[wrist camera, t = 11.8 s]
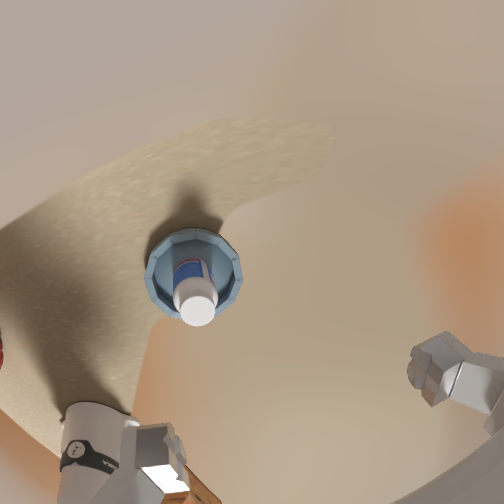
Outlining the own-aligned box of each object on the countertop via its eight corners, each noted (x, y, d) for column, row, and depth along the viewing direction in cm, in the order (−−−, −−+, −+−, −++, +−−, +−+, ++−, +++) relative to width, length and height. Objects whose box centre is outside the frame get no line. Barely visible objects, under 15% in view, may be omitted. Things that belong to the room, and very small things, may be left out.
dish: (245, 301, 46) (248, 308, 44) (161, 320, 45) (161, 328, 43) (230, 218, 42) (232, 222, 40) (136, 240, 40) (134, 245, 38)
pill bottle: (166, 281, 42) (163, 318, 33) (185, 249, 41) (187, 280, 32) (199, 298, 44) (205, 338, 35) (219, 268, 43) (230, 303, 34)
